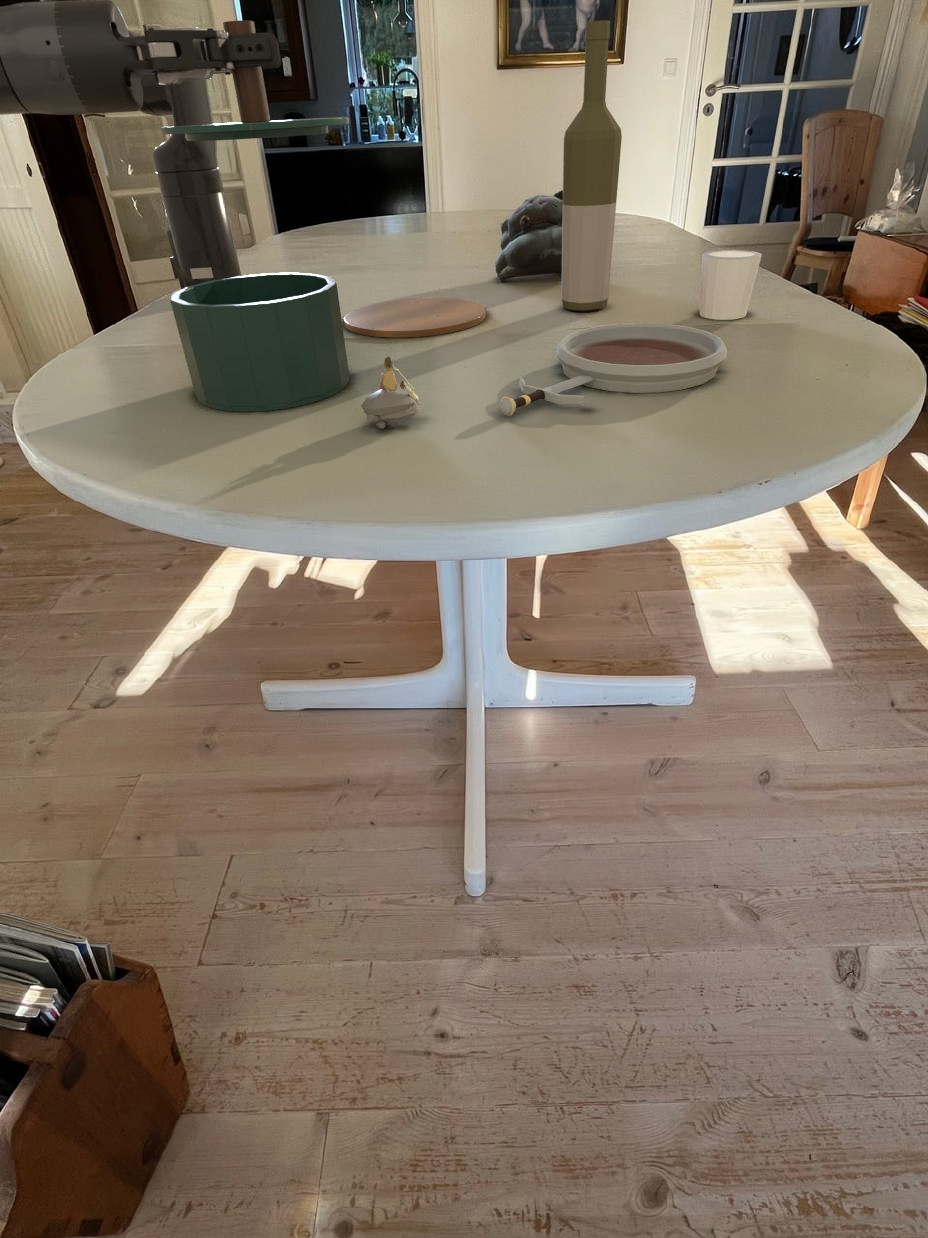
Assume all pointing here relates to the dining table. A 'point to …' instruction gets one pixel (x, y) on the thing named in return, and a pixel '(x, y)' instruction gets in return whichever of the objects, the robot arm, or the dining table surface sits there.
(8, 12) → the robot arm
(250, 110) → the lid
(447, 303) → the trivet
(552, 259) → the grey lumpy animal shape
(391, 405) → the figurine
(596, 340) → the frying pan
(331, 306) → the pot
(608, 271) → the bottle
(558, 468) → the dining table surface
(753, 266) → the white cup
